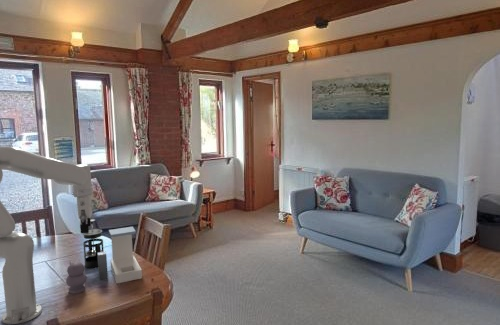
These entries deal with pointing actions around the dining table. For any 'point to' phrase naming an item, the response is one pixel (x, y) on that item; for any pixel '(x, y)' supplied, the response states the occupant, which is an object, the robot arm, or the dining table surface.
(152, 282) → the dining table surface
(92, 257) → the french press
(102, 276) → the peg
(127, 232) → the white dispenser with tray
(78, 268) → the cat figurine
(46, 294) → the dining table surface
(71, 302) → the dining table surface
